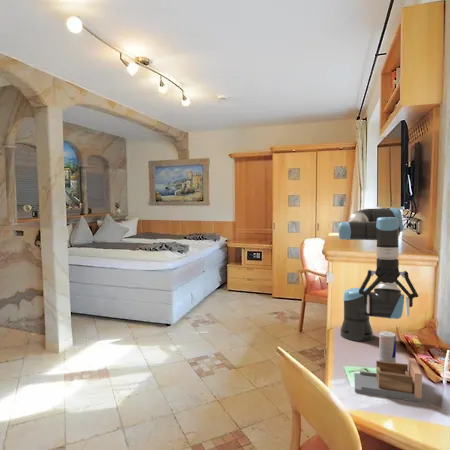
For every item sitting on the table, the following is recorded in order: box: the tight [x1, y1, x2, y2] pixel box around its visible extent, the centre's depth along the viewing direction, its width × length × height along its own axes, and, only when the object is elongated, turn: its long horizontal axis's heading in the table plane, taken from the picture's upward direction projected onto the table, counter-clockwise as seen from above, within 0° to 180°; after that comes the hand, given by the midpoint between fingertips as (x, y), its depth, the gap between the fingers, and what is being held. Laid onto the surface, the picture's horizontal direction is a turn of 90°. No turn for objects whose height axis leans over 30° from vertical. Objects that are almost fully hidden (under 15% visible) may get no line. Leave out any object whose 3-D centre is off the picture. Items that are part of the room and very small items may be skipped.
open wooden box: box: [375, 360, 413, 393], centre depth 117 cm, size 10×10×6 cm
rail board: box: [353, 357, 423, 403], centre depth 118 cm, size 12×20×9 cm, turn 70°
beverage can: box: [378, 330, 397, 363], centre depth 129 cm, size 6×6×15 cm
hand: (387, 313), depth 129 cm, fingers open, 13 cm apart
